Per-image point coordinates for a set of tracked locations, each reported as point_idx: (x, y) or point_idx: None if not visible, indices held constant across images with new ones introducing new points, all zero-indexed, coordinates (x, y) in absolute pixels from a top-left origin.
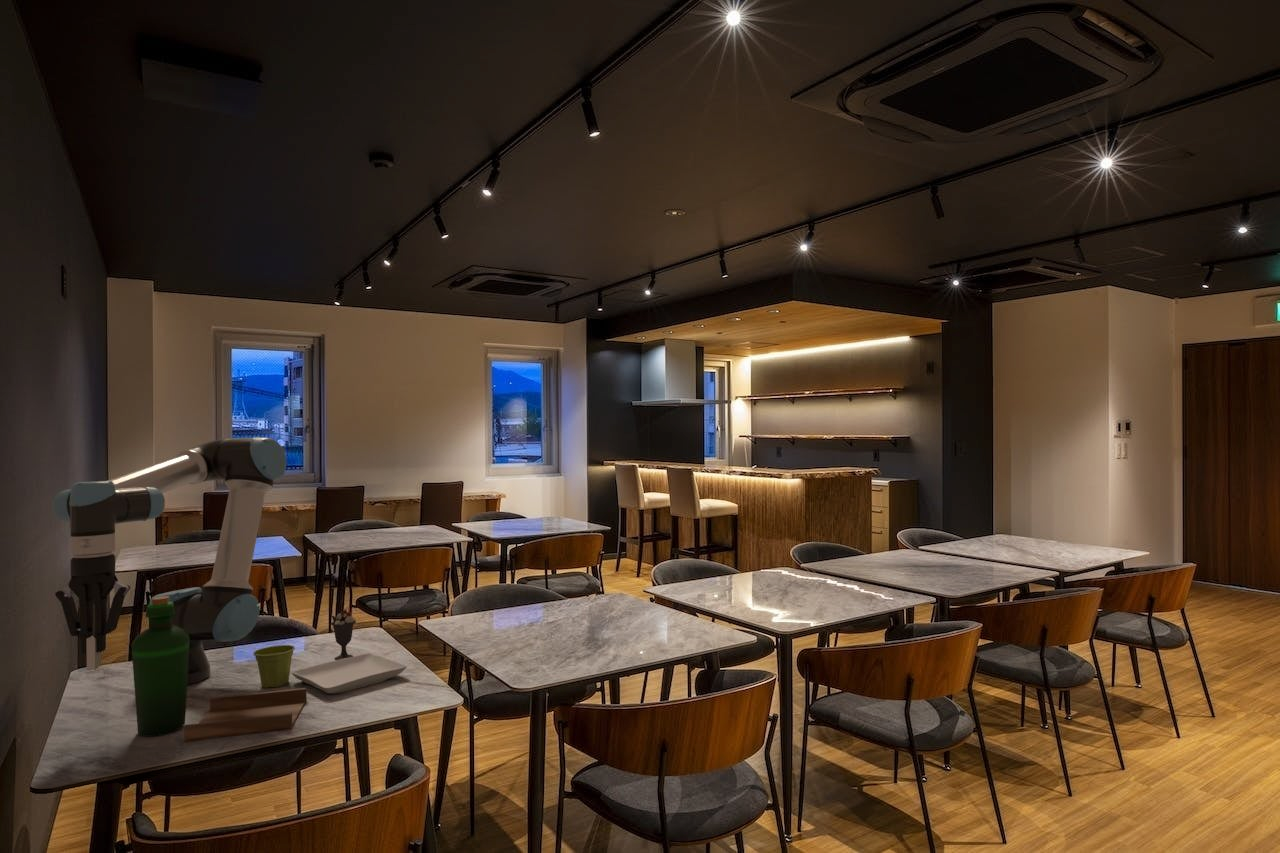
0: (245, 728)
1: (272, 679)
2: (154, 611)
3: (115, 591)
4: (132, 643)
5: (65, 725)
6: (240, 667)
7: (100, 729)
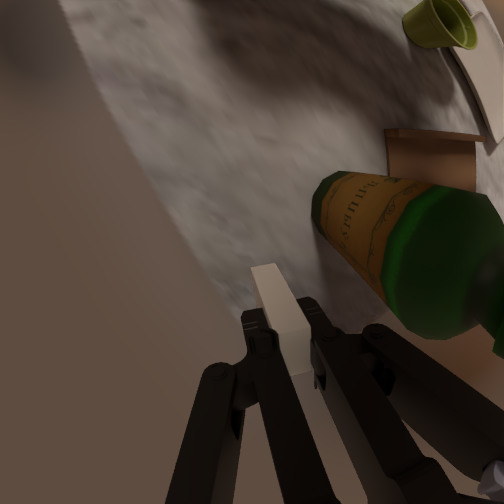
0: None
1: (432, 47)
2: None
3: (484, 490)
4: (409, 311)
5: (136, 151)
6: None
7: (225, 182)
